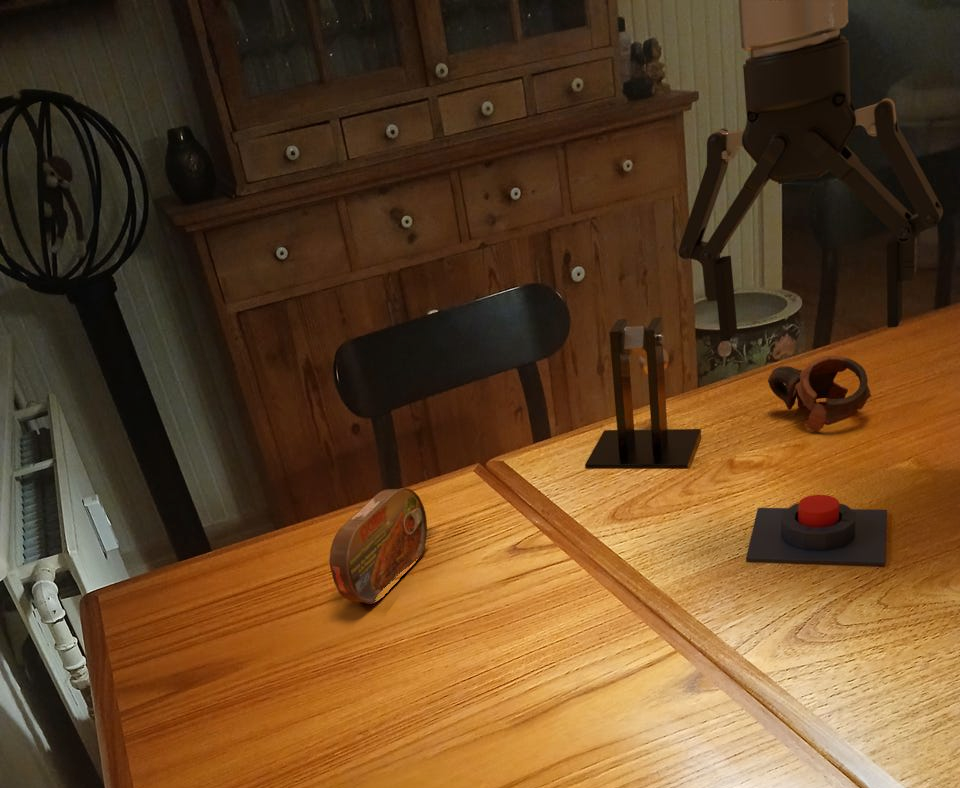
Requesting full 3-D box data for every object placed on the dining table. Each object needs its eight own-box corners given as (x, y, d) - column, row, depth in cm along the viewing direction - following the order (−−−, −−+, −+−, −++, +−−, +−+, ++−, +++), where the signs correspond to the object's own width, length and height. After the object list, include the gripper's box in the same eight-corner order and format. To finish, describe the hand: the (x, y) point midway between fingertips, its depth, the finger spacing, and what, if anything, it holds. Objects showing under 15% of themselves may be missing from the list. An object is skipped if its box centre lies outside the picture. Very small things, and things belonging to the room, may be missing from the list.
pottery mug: (868, 402, 122) (885, 357, 114) (846, 462, 118) (861, 420, 111) (773, 377, 125) (783, 332, 118) (748, 435, 122) (757, 392, 114)
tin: (363, 619, 97) (343, 545, 92) (337, 616, 98) (316, 542, 93) (434, 545, 107) (420, 474, 103) (410, 542, 109) (394, 473, 104)
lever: (641, 379, 122) (642, 349, 122) (670, 378, 121) (671, 348, 121) (617, 354, 110) (619, 321, 109) (649, 353, 108) (651, 320, 108)
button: (839, 511, 93) (840, 494, 92) (837, 529, 90) (838, 512, 89) (799, 510, 94) (800, 494, 93) (796, 528, 91) (796, 512, 90)
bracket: (604, 438, 124) (593, 313, 115) (701, 437, 120) (697, 307, 111) (585, 473, 116) (572, 342, 108) (687, 474, 112) (682, 337, 103)
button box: (885, 529, 96) (888, 492, 93) (883, 583, 88) (887, 544, 86) (757, 526, 100) (757, 491, 98) (746, 578, 92) (745, 540, 90)
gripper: (987, -3, 69) (976, 301, 80) (650, 73, 82) (679, 328, 92) (978, 6, 64) (968, 330, 75) (619, 86, 76) (654, 355, 87)
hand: (808, 330), depth 83 cm, fingers open, 13 cm apart
